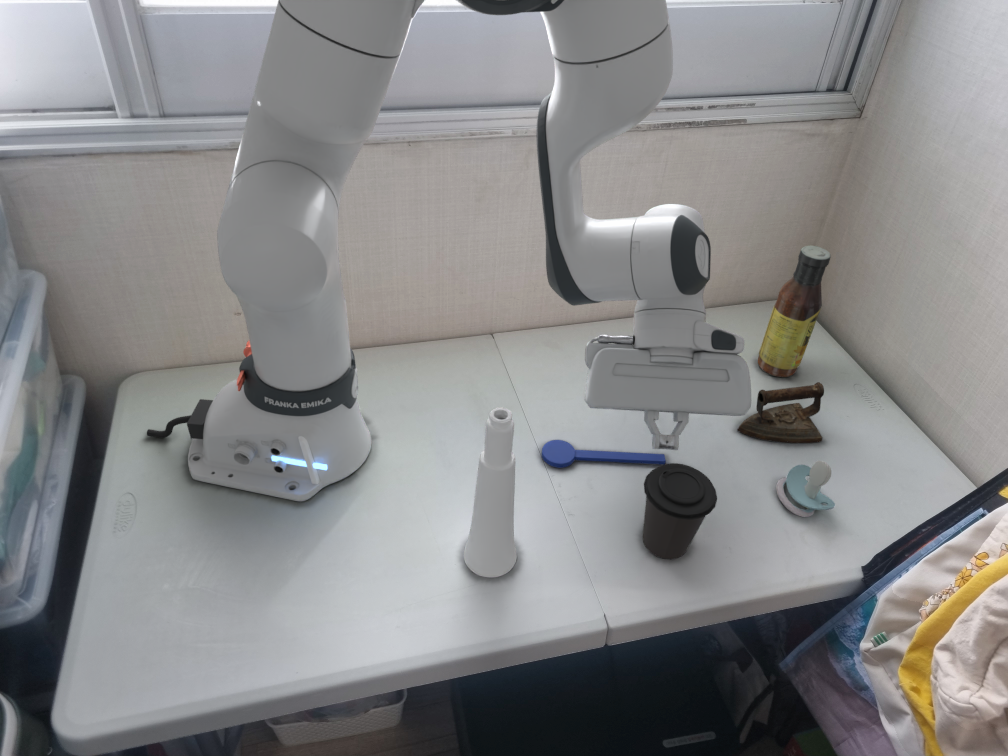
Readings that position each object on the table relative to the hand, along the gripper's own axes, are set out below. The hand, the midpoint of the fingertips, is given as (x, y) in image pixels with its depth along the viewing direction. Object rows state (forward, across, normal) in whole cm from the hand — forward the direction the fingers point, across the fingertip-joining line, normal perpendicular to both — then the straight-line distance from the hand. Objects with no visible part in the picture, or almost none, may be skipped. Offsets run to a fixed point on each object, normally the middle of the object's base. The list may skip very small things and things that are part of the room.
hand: (665, 449), depth 94 cm
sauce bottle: (-14, +22, +22) cm, 34 cm away
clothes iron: (-4, +18, +12) cm, 22 cm away
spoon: (+1, -7, +6) cm, 9 cm away
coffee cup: (+11, 0, -3) cm, 11 cm away
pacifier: (+6, +18, +3) cm, 19 cm away
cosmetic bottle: (+13, -21, -5) cm, 25 cm away
